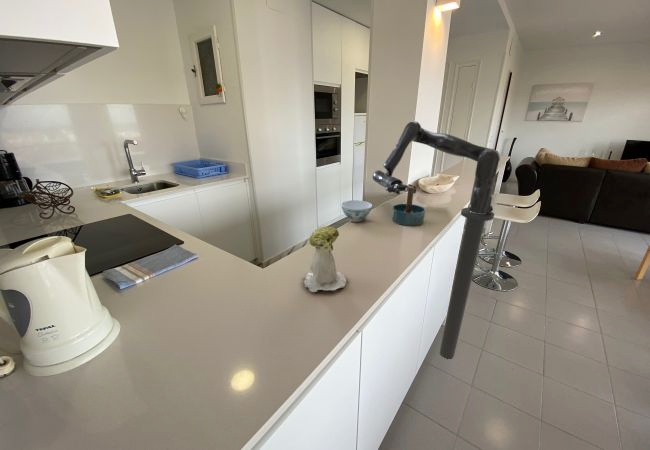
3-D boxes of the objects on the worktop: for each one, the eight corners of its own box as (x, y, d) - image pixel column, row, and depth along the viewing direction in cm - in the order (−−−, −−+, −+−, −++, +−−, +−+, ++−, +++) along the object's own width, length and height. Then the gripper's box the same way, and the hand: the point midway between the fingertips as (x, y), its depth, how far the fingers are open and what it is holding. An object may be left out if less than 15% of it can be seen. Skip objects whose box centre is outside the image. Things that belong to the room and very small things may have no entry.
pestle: (411, 218, 138) (415, 186, 133) (412, 221, 134) (416, 188, 129) (402, 217, 139) (406, 186, 134) (402, 220, 136) (406, 188, 130)
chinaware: (337, 215, 144) (337, 201, 141) (363, 213, 147) (364, 199, 144) (346, 226, 130) (347, 210, 127) (376, 223, 134) (377, 207, 131)
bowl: (422, 217, 142) (424, 205, 140) (424, 227, 128) (426, 214, 126) (392, 214, 146) (393, 202, 143) (391, 224, 132) (392, 211, 130)
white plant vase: (351, 291, 81) (354, 234, 74) (308, 297, 78) (307, 238, 72) (339, 271, 92) (341, 219, 85) (301, 275, 89) (300, 222, 82)
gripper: (381, 178, 147) (394, 184, 132) (405, 177, 150) (421, 183, 135) (380, 191, 150) (393, 200, 135) (404, 190, 153) (419, 198, 138)
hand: (407, 191), depth 135 cm, fingers open, 8 cm apart
